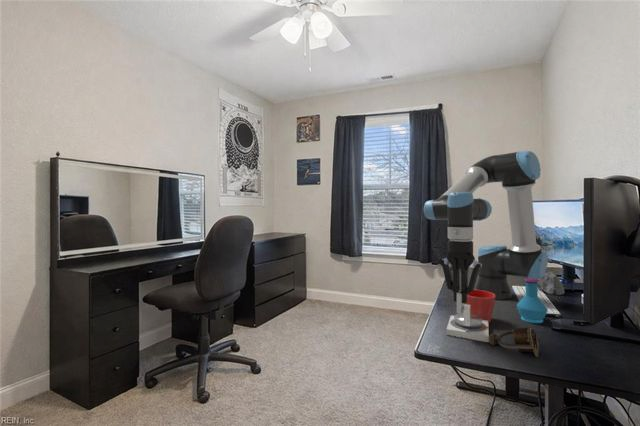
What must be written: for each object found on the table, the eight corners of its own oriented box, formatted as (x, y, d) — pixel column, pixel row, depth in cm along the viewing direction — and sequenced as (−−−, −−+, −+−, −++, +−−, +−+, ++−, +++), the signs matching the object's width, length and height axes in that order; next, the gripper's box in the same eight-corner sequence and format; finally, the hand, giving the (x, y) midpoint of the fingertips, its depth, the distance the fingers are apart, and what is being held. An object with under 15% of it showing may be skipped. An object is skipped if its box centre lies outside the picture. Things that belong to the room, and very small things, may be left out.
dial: (455, 317, 107) (455, 297, 107) (482, 321, 103) (482, 301, 103) (452, 329, 97) (451, 308, 96) (481, 334, 92) (481, 312, 92)
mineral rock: (535, 287, 154) (535, 267, 154) (562, 290, 148) (562, 269, 148) (536, 293, 143) (535, 272, 143) (565, 296, 137) (564, 274, 137)
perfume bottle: (543, 317, 113) (543, 277, 112) (550, 326, 104) (550, 282, 104) (514, 313, 116) (514, 275, 116) (519, 322, 108) (518, 280, 108)
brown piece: (529, 343, 80) (548, 328, 84) (482, 323, 91) (502, 310, 95) (529, 367, 81) (548, 350, 86) (484, 344, 92) (503, 330, 97)
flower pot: (500, 325, 105) (500, 298, 105) (466, 323, 107) (466, 296, 107) (490, 315, 116) (489, 289, 115) (459, 313, 118) (459, 288, 118)
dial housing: (450, 320, 111) (450, 314, 111) (488, 326, 105) (488, 319, 105) (446, 335, 98) (446, 327, 98) (488, 342, 93) (488, 334, 92)
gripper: (435, 239, 99) (435, 310, 100) (478, 242, 90) (478, 320, 91) (444, 237, 105) (444, 305, 105) (485, 240, 96) (485, 314, 96)
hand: (460, 312), depth 98 cm, fingers closed
